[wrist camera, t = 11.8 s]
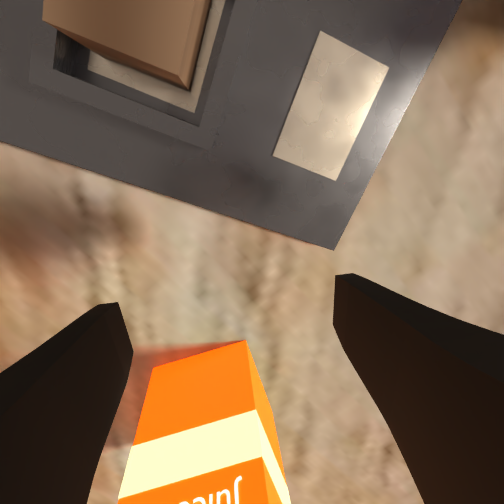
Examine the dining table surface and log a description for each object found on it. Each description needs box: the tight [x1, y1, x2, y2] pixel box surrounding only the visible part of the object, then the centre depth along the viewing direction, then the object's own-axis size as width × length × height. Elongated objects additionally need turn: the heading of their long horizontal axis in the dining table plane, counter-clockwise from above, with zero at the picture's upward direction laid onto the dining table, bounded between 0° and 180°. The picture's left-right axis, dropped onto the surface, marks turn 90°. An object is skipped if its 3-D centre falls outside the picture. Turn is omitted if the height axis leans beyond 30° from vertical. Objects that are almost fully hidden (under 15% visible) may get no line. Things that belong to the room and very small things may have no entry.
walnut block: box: [42, 0, 212, 92], centre depth 10 cm, size 4×4×5 cm
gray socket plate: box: [0, 0, 462, 251], centre depth 13 cm, size 22×14×3 cm, turn 69°
